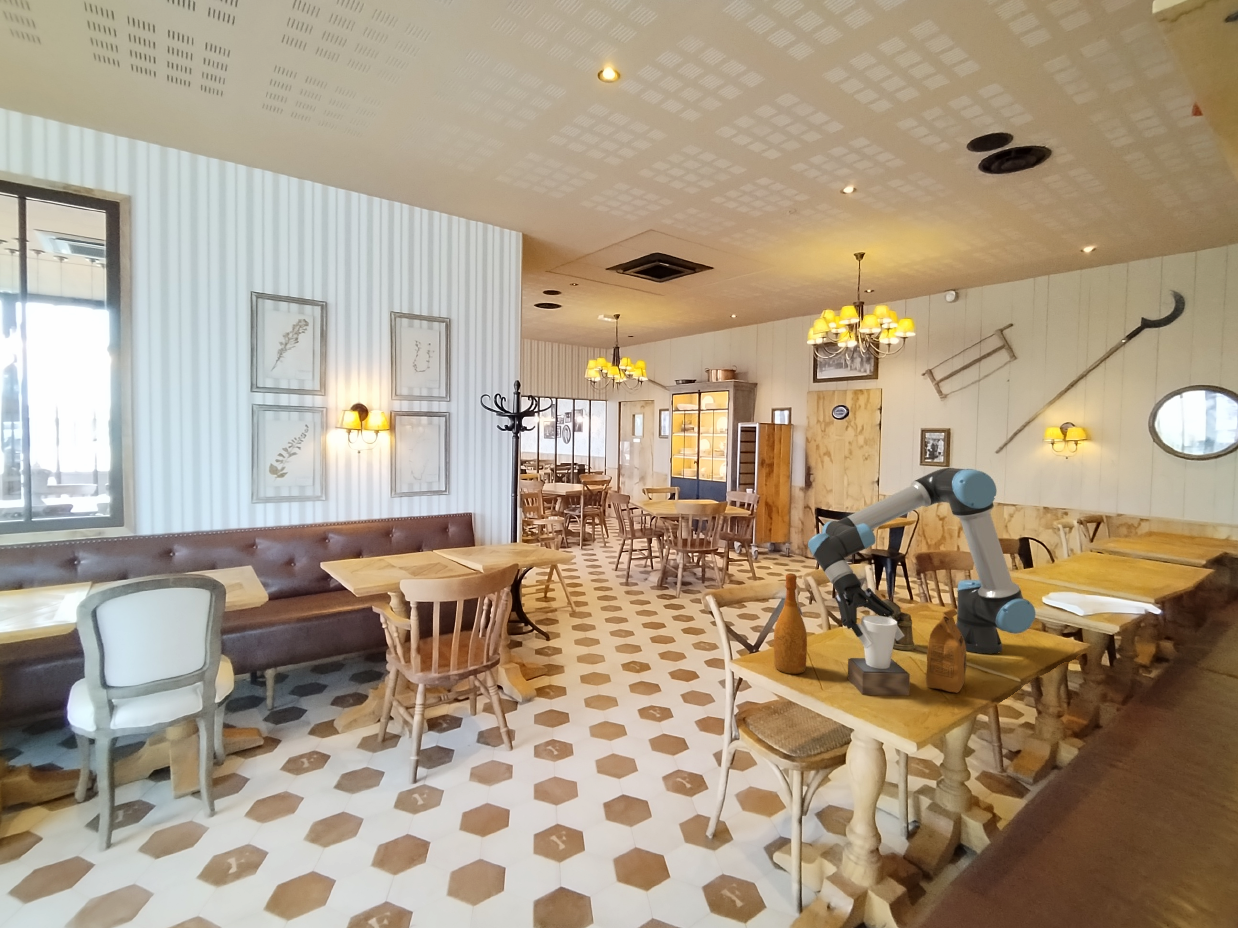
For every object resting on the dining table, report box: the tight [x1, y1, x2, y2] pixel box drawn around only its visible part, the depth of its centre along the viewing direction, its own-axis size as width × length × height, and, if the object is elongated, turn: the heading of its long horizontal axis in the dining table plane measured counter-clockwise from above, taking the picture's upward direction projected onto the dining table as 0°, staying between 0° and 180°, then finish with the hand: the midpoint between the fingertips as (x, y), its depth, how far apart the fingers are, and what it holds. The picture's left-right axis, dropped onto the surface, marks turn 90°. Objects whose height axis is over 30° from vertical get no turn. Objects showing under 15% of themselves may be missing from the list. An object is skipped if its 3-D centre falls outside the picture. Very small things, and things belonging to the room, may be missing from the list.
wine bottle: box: [773, 572, 808, 675], centre depth 179 cm, size 10×10×30 cm
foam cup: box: [860, 614, 897, 669], centre depth 166 cm, size 10×9×13 cm
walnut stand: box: [847, 657, 911, 696], centre depth 167 cm, size 13×11×6 cm
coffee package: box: [925, 607, 967, 693], centre depth 167 cm, size 10×12×22 cm
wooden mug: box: [882, 598, 915, 652], centre depth 198 cm, size 9×14×18 cm, turn 126°
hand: (885, 642), depth 164 cm, fingers open, 13 cm apart
